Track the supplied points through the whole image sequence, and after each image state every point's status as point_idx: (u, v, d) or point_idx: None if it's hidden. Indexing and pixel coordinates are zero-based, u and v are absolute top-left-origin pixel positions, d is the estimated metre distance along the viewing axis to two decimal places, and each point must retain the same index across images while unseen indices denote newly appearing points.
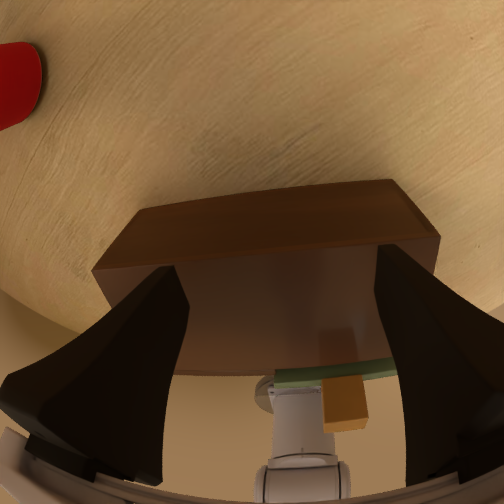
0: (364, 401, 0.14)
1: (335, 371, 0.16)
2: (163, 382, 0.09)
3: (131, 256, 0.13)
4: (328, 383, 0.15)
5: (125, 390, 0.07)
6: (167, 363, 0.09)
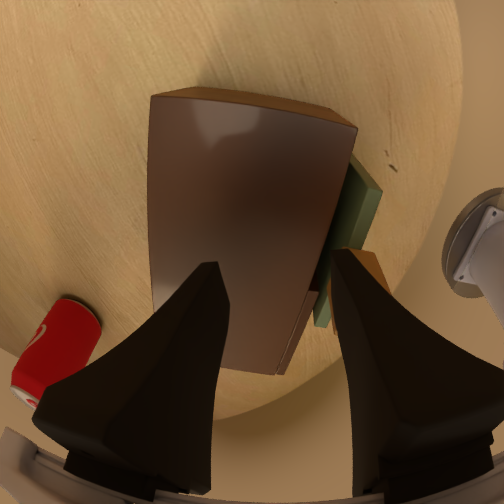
0: None
1: None
2: (211, 384, 0.08)
3: None
4: (329, 287, 0.13)
5: (181, 396, 0.06)
6: (214, 364, 0.09)
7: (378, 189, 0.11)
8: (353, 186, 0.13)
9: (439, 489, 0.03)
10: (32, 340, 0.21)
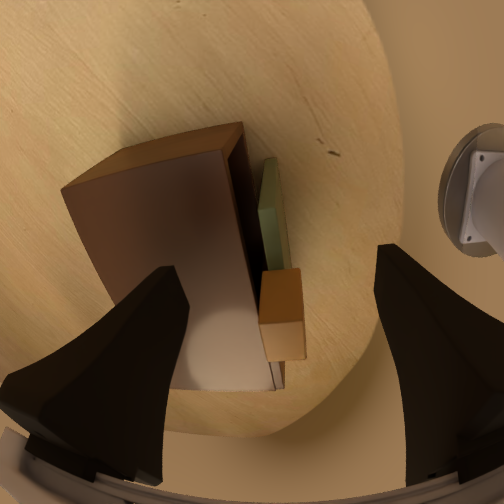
0: None
1: None
2: (163, 382, 0.09)
3: None
4: None
5: (125, 390, 0.07)
6: (167, 363, 0.09)
7: (270, 207, 0.11)
8: None
9: None
10: None
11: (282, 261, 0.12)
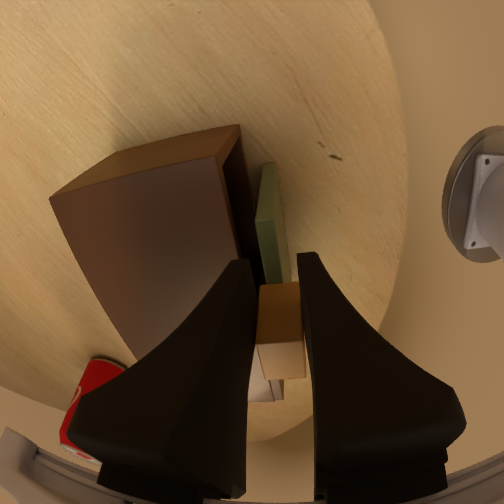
0: None
1: None
2: (245, 384, 0.08)
3: None
4: None
5: (225, 398, 0.06)
6: (247, 364, 0.09)
7: (268, 218, 0.10)
8: None
9: None
10: (71, 402, 0.24)
11: (281, 274, 0.11)
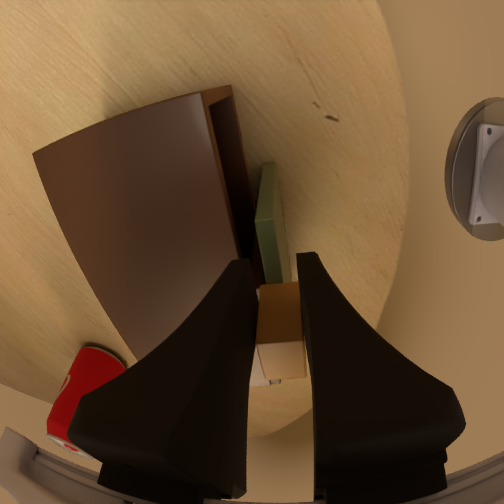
0: None
1: None
2: (245, 385, 0.08)
3: None
4: None
5: (225, 398, 0.06)
6: (247, 364, 0.09)
7: (268, 217, 0.10)
8: None
9: None
10: (60, 390, 0.23)
11: (281, 274, 0.11)
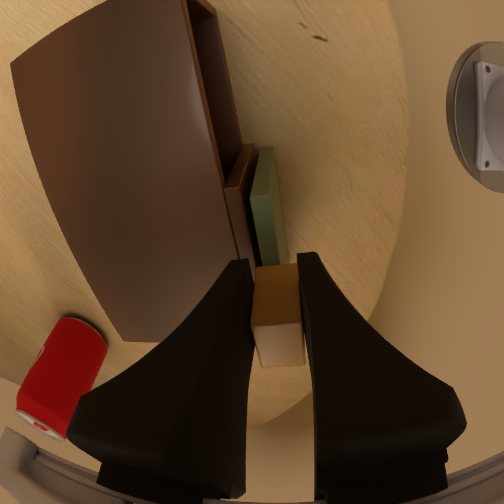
0: (252, 303, 0.10)
1: None
2: (245, 385, 0.08)
3: None
4: None
5: (224, 398, 0.06)
6: (247, 364, 0.09)
7: (264, 194, 0.10)
8: None
9: (383, 503, 0.03)
10: (33, 363, 0.20)
11: (278, 255, 0.11)
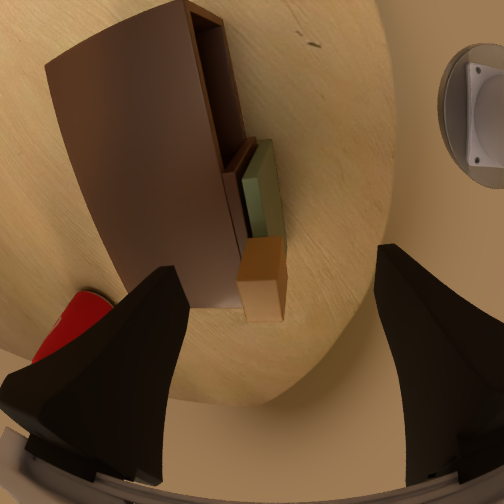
0: (240, 265, 0.12)
1: None
2: (163, 382, 0.09)
3: None
4: None
5: (125, 390, 0.07)
6: (167, 363, 0.09)
7: (253, 177, 0.12)
8: None
9: None
10: None
11: (265, 229, 0.13)
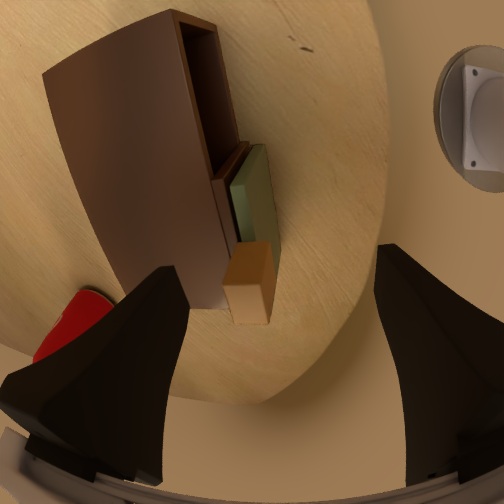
0: (227, 269, 0.12)
1: None
2: (163, 382, 0.09)
3: None
4: None
5: (125, 390, 0.07)
6: (167, 363, 0.09)
7: (240, 184, 0.12)
8: None
9: None
10: (51, 329, 0.25)
11: (253, 234, 0.14)
